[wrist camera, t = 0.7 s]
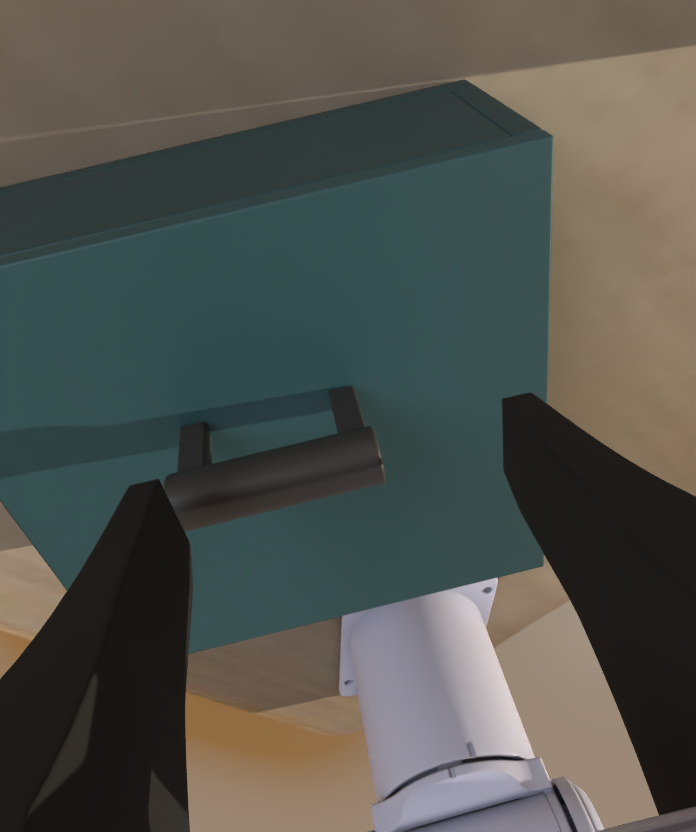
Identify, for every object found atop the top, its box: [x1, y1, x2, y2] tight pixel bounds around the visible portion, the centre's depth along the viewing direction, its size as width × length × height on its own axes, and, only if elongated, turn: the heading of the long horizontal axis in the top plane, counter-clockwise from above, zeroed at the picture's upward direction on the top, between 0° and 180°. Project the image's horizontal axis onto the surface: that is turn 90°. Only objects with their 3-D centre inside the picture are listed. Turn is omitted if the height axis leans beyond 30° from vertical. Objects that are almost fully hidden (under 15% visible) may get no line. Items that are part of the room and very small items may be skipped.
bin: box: [0, 80, 541, 257], centre depth 21 cm, size 14×15×6 cm
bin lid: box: [0, 130, 554, 654], centre depth 17 cm, size 15×15×4 cm
